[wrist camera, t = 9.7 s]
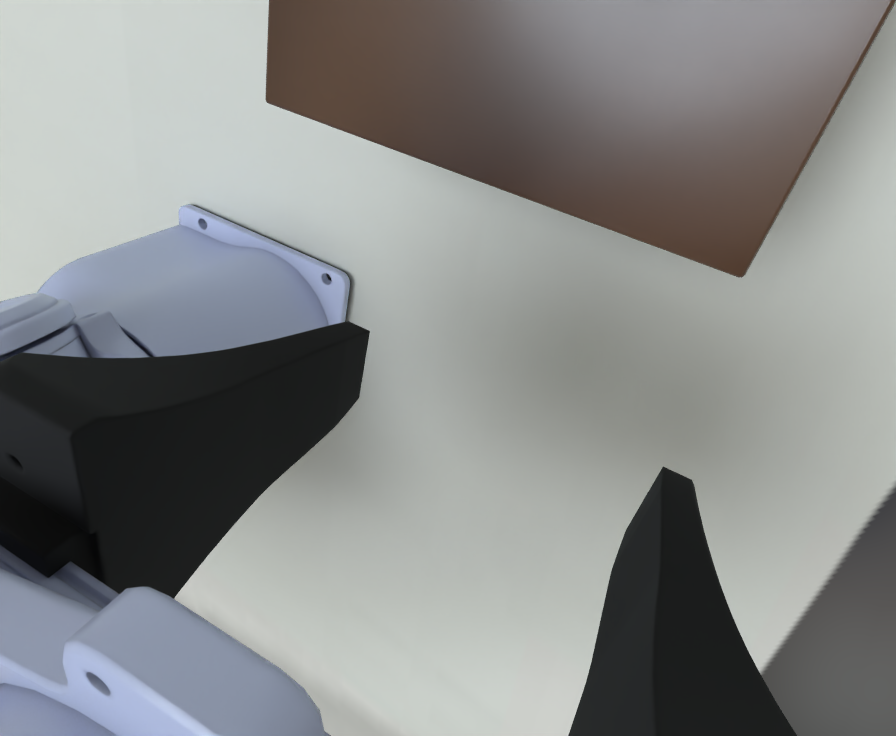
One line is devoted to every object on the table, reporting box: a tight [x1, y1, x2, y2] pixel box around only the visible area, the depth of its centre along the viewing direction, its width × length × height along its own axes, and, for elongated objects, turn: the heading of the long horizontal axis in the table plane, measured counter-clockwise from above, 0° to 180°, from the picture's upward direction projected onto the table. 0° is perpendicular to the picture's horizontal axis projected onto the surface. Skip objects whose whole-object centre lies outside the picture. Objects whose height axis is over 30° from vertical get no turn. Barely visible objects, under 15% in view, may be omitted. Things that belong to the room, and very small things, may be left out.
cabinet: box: [266, 0, 896, 277], centre depth 15 cm, size 13×8×7 cm, turn 76°
